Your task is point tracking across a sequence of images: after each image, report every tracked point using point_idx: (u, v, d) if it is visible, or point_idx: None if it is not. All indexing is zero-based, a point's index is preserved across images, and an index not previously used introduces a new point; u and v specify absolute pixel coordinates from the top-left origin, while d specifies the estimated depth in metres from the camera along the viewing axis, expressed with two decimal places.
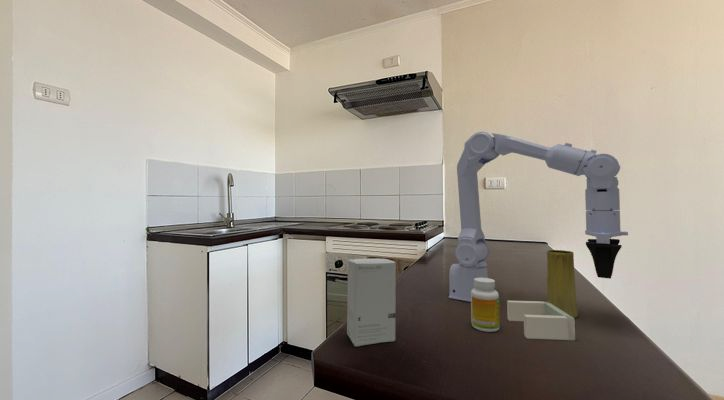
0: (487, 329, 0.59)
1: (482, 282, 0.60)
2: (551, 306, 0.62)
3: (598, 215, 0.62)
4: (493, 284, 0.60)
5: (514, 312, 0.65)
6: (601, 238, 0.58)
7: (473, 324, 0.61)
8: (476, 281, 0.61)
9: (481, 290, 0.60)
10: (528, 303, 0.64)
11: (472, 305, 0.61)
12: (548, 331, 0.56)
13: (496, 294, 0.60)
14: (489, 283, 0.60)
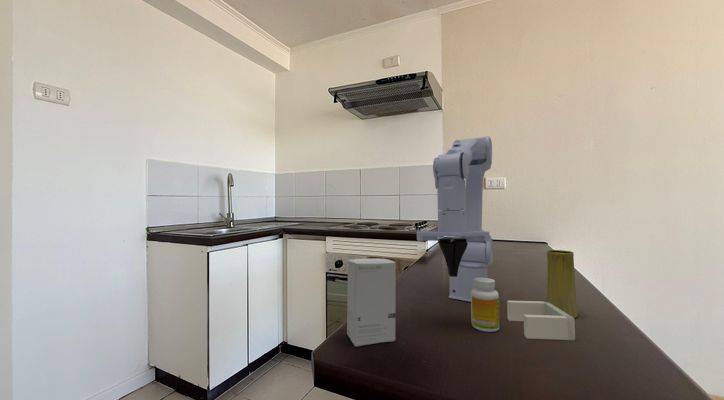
0: (487, 329, 0.59)
1: (482, 282, 0.60)
2: (551, 306, 0.62)
3: None
4: (493, 284, 0.60)
5: (514, 312, 0.65)
6: None
7: (473, 324, 0.61)
8: (476, 281, 0.61)
9: (481, 290, 0.60)
10: (528, 303, 0.64)
11: (472, 305, 0.61)
12: (548, 331, 0.56)
13: (496, 294, 0.60)
14: (489, 283, 0.60)
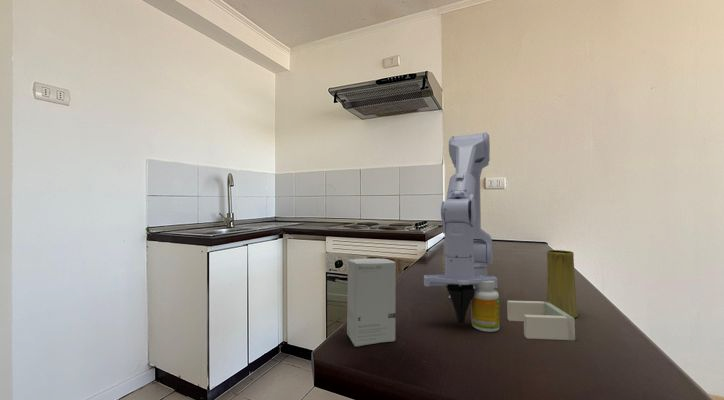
0: (487, 329, 0.59)
1: (482, 282, 0.60)
2: (551, 306, 0.62)
3: (445, 259, 0.63)
4: (493, 284, 0.60)
5: (514, 312, 0.65)
6: (424, 280, 0.63)
7: (473, 324, 0.61)
8: None
9: (481, 290, 0.60)
10: (528, 303, 0.64)
11: (472, 305, 0.61)
12: (548, 331, 0.56)
13: (496, 294, 0.60)
14: (489, 283, 0.60)
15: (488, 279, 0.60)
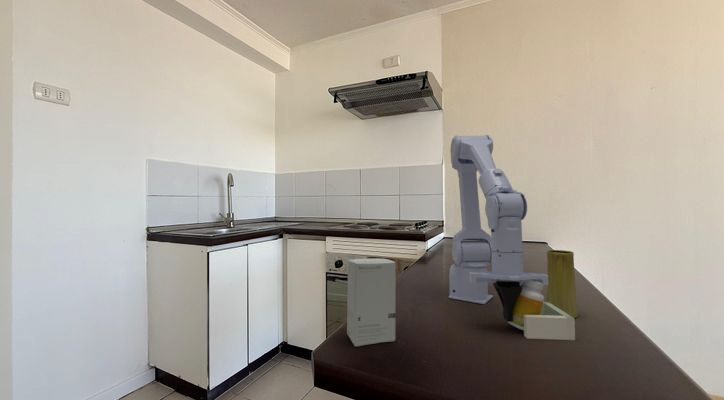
0: None
1: (534, 282, 0.58)
2: (551, 306, 0.62)
3: (491, 255, 0.62)
4: None
5: None
6: (470, 277, 0.62)
7: None
8: None
9: (530, 289, 0.59)
10: None
11: None
12: (548, 331, 0.56)
13: (543, 296, 0.59)
14: (540, 284, 0.58)
15: (538, 276, 0.59)
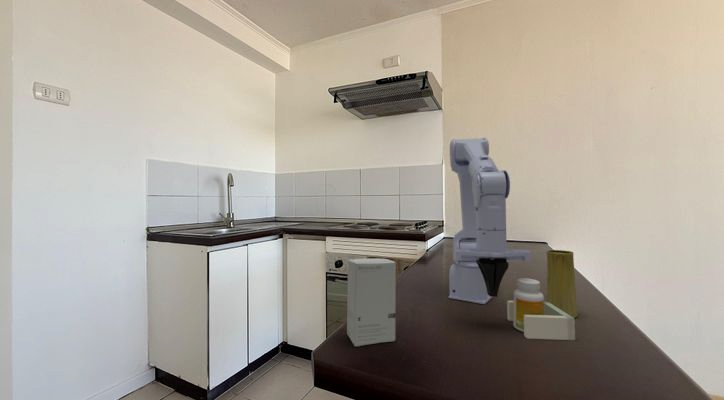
0: None
1: (529, 283, 0.58)
2: (551, 306, 0.62)
3: (476, 233, 0.63)
4: (539, 285, 0.59)
5: None
6: (455, 254, 0.63)
7: (517, 326, 0.59)
8: (521, 282, 0.59)
9: (527, 292, 0.59)
10: None
11: (516, 307, 0.60)
12: (548, 331, 0.56)
13: (542, 295, 0.58)
14: (536, 284, 0.58)
15: (521, 252, 0.60)
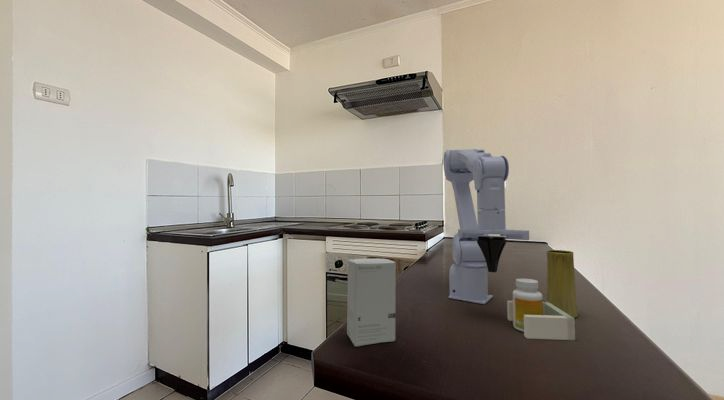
0: None
1: (527, 283, 0.59)
2: (551, 306, 0.62)
3: None
4: (537, 284, 0.59)
5: None
6: None
7: (517, 326, 0.59)
8: (519, 282, 0.60)
9: (525, 291, 0.59)
10: None
11: (515, 307, 0.60)
12: (548, 331, 0.56)
13: (541, 295, 0.59)
14: (534, 283, 0.59)
15: (517, 231, 0.62)
